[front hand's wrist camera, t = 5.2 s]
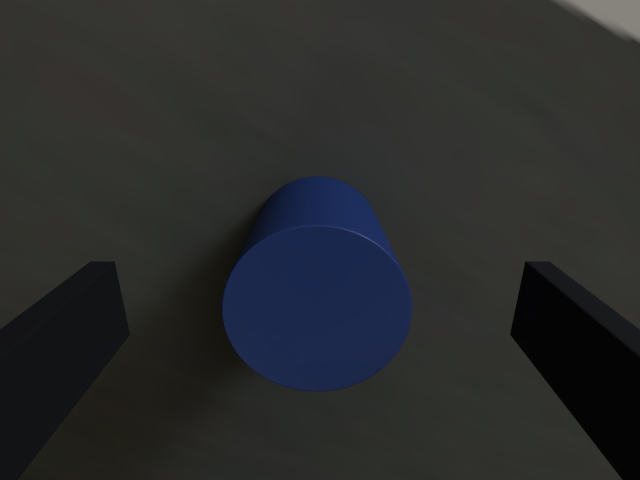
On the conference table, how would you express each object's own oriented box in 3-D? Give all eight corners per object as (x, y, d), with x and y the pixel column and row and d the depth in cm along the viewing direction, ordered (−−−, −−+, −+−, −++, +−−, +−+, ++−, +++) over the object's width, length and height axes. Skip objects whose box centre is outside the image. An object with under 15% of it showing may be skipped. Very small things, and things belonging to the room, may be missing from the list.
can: (231, 216, 19) (182, 285, 12) (341, 152, 18) (355, 187, 11) (296, 311, 21) (286, 417, 14) (399, 258, 20) (443, 344, 13)
